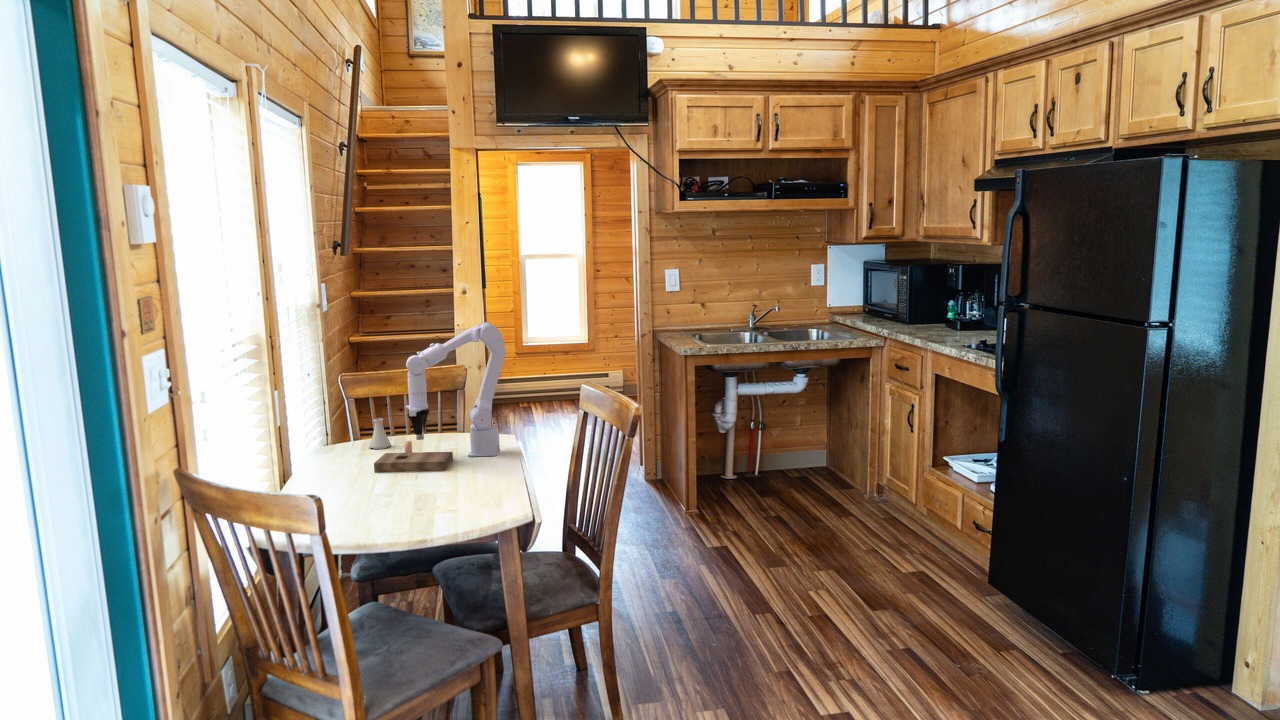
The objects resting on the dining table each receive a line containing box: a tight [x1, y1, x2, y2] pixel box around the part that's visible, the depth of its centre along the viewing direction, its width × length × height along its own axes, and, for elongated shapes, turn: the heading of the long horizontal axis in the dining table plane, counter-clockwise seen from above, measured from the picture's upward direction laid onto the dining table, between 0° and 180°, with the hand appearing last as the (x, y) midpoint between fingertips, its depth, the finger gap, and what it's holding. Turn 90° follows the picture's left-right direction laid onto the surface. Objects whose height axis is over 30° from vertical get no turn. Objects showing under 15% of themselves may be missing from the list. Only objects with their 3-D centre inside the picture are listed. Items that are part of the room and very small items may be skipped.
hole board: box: [373, 451, 454, 473], centre depth 267 cm, size 22×12×3 cm, turn 90°
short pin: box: [403, 440, 413, 453], centre depth 282 cm, size 2×2×4 cm
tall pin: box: [415, 431, 425, 441], centre depth 273 cm, size 2×2×8 cm
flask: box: [368, 418, 392, 450], centre depth 292 cm, size 7×7×10 cm
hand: (419, 433), depth 273 cm, fingers closed on tall pin, 2 cm apart
